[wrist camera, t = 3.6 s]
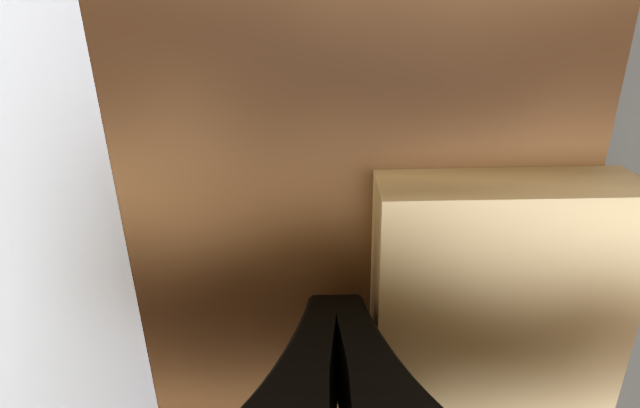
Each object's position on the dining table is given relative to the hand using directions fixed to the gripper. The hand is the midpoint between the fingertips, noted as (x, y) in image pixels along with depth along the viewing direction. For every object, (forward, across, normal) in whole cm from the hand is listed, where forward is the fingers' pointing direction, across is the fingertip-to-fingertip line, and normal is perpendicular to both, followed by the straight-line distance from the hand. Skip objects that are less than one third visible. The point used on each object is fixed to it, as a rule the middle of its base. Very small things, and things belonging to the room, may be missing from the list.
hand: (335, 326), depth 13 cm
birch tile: (+1, -4, 0) cm, 4 cm away
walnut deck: (+5, -1, 0) cm, 5 cm away
